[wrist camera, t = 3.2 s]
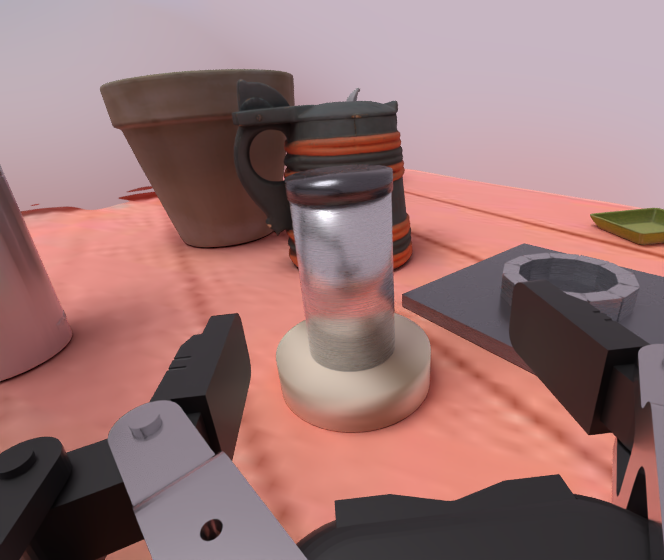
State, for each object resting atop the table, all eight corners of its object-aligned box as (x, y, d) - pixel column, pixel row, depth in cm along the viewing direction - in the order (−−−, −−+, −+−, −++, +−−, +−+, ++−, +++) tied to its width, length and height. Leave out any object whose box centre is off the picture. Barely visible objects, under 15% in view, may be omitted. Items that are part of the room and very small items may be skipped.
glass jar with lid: (340, 386, 21) (320, 189, 17) (292, 342, 26) (266, 177, 21) (415, 347, 24) (416, 168, 20) (360, 313, 29) (350, 162, 24)
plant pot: (242, 207, 77) (219, 87, 68) (340, 219, 62) (328, 68, 54) (118, 246, 59) (66, 92, 51) (215, 275, 45) (166, 66, 36)
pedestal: (334, 462, 20) (329, 426, 19) (258, 369, 28) (251, 340, 27) (463, 381, 25) (465, 349, 24) (367, 321, 32) (365, 295, 31)
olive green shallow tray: (585, 229, 49) (588, 213, 48) (652, 222, 49) (656, 206, 48) (637, 252, 41) (641, 233, 40) (717, 244, 41) (723, 225, 40)
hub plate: (637, 427, 20) (653, 378, 19) (402, 306, 34) (401, 273, 33) (747, 313, 29) (763, 273, 27) (522, 253, 43) (526, 225, 41)
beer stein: (273, 304, 37) (232, 70, 29) (245, 258, 50) (211, 86, 41) (437, 262, 43) (443, 57, 35) (375, 230, 55) (368, 74, 47)
